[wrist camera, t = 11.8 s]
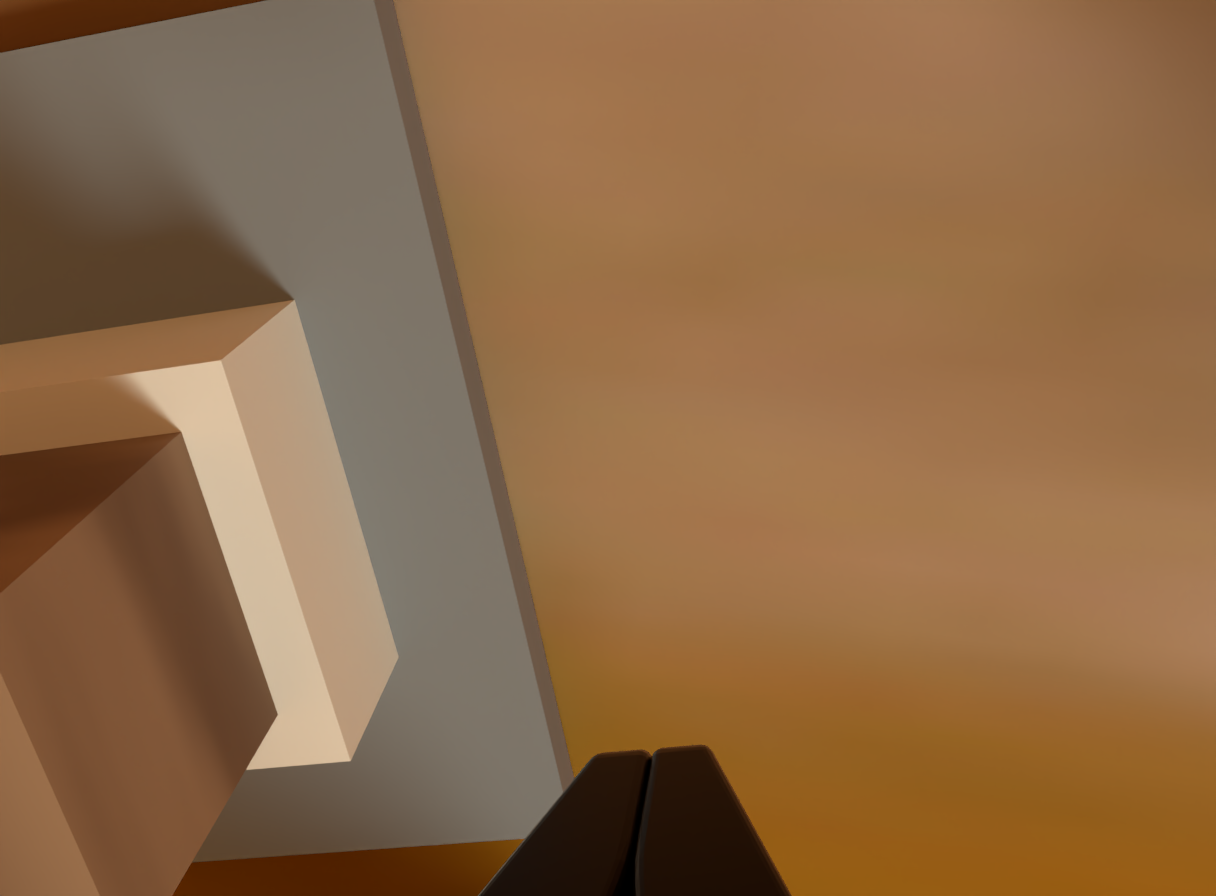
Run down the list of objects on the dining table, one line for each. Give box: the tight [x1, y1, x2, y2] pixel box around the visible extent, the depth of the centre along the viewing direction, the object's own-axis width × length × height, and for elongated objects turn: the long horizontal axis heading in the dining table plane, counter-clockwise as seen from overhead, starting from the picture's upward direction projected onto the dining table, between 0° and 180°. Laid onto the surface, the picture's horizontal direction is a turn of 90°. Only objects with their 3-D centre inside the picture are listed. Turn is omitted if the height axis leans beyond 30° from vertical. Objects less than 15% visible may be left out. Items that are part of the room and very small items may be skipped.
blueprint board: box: [0, 0, 574, 862], centre depth 20 cm, size 12×16×4 cm
